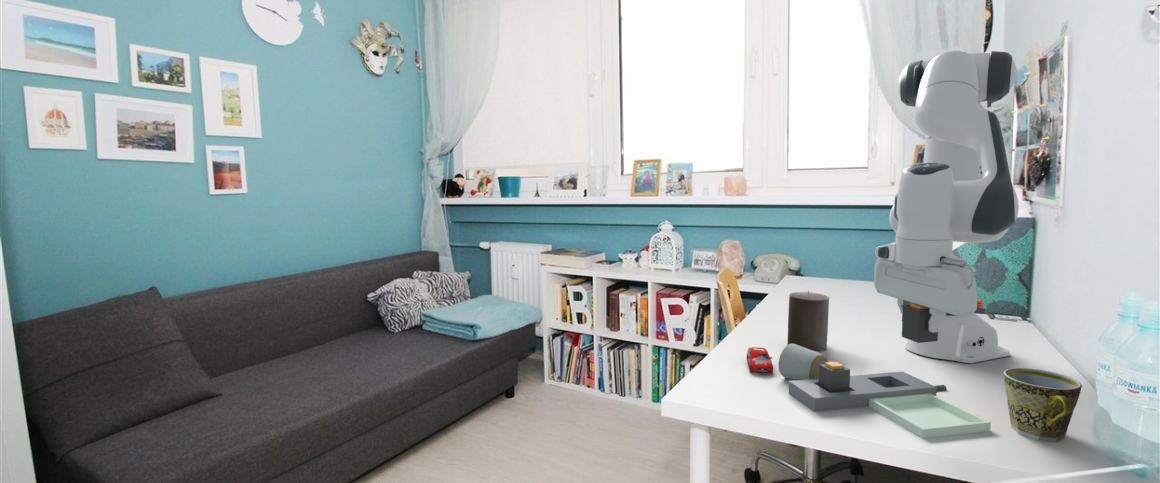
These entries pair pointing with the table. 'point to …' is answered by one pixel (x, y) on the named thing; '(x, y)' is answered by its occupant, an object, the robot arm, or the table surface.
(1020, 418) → the ceramic cup
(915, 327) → the plug
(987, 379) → the table surface
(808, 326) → the pillar candle
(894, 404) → the tray
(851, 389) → the power strip
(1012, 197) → the robot arm
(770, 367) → the race car
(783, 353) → the ceramic mug
